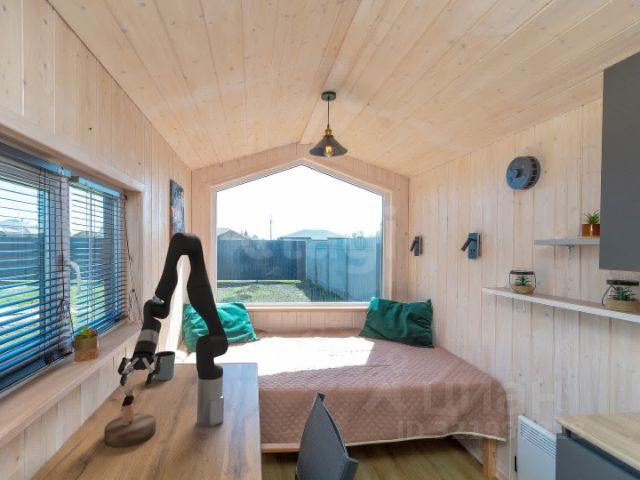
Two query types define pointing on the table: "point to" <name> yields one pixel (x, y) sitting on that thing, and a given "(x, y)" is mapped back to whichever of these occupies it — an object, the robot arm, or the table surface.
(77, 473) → the table surface
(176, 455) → the table surface
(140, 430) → the walnut plinth
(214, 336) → the robot arm
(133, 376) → the table surface
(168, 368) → the grey-green cup
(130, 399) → the grandmother figurine
